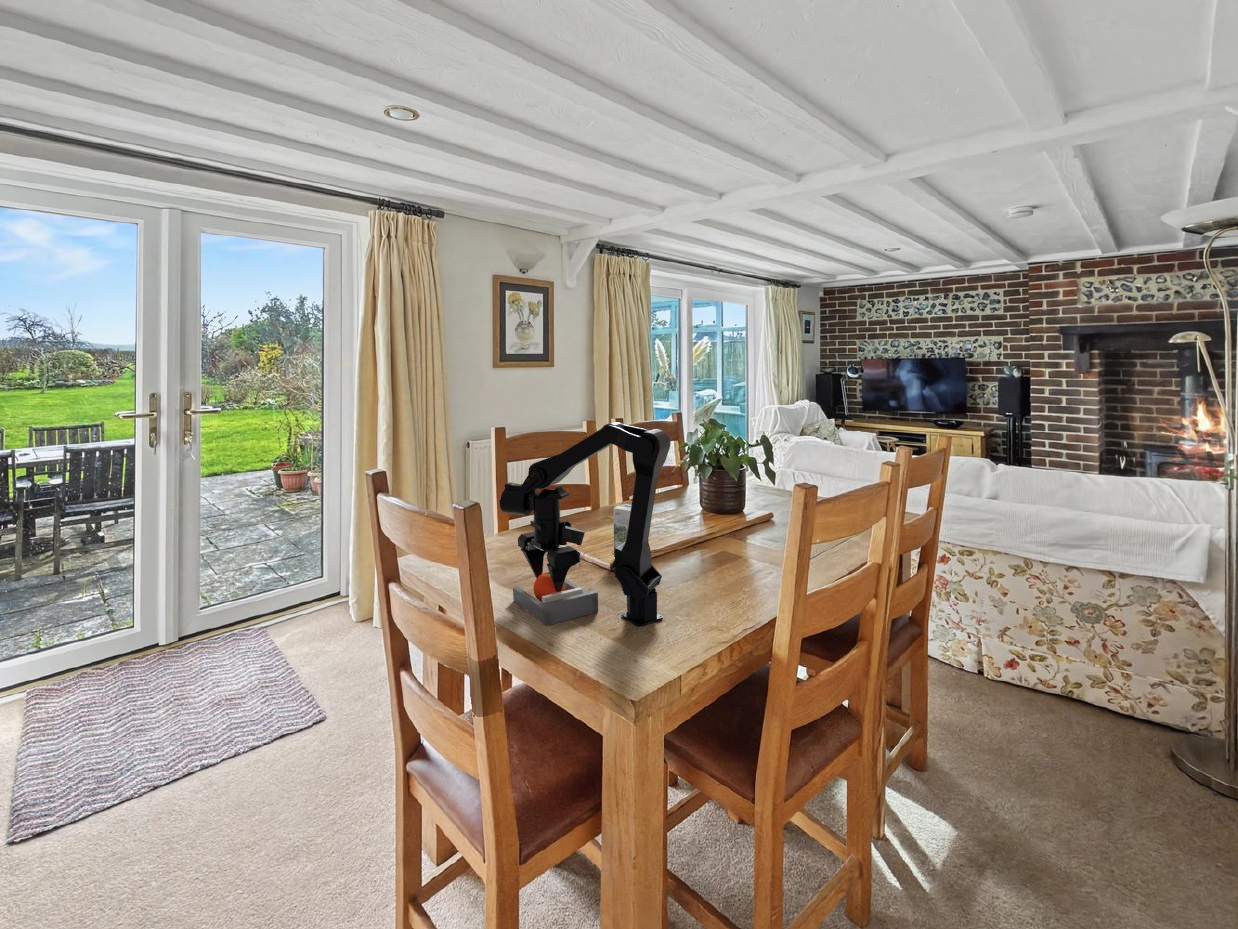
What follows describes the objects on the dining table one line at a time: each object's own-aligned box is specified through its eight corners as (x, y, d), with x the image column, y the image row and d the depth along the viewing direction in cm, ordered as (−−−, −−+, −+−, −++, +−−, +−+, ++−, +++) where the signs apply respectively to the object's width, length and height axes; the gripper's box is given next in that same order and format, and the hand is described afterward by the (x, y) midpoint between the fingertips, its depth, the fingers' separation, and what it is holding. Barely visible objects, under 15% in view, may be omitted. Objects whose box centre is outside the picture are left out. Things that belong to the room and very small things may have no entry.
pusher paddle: (582, 606, 136) (582, 589, 135) (544, 616, 131) (544, 598, 130) (579, 604, 137) (579, 587, 136) (542, 614, 132) (541, 596, 131)
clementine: (574, 600, 140) (574, 570, 139) (559, 612, 134) (559, 580, 133) (543, 595, 143) (543, 565, 142) (527, 606, 137) (527, 575, 136)
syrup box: (642, 557, 170) (642, 505, 168) (631, 563, 165) (630, 509, 163) (624, 553, 173) (624, 502, 171) (613, 559, 168) (612, 507, 166)
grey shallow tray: (598, 611, 134) (597, 592, 133) (546, 625, 127) (545, 605, 126) (562, 589, 147) (561, 571, 146) (513, 600, 140) (512, 582, 139)
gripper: (601, 520, 133) (602, 590, 135) (559, 503, 148) (560, 567, 151) (554, 528, 127) (556, 601, 129) (515, 510, 142) (517, 576, 144)
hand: (548, 585), depth 139 cm, fingers open, 9 cm apart
